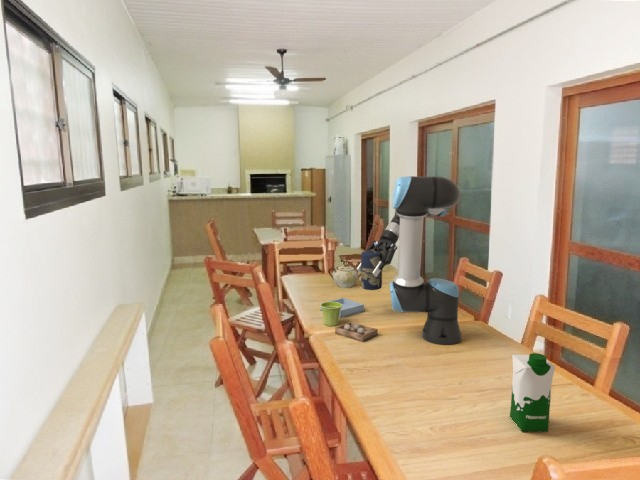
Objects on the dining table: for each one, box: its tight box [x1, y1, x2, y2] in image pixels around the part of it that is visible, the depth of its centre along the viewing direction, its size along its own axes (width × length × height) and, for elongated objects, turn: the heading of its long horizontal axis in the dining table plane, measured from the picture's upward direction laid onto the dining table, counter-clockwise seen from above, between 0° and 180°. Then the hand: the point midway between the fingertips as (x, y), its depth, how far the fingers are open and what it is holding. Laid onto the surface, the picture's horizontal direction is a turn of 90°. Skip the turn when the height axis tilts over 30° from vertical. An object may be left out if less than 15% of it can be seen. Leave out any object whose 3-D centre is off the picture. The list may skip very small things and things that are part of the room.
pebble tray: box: [334, 321, 379, 343], centre depth 187 cm, size 14×10×4 cm
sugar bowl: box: [328, 259, 361, 289], centre depth 261 cm, size 20×15×15 cm
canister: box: [360, 250, 383, 291], centre depth 206 cm, size 10×10×18 cm
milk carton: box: [509, 352, 556, 432], centre depth 120 cm, size 9×9×20 cm
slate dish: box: [320, 297, 365, 319], centre depth 217 cm, size 15×15×4 cm
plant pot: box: [321, 301, 342, 327], centre depth 199 cm, size 9×9×9 cm
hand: (366, 272), depth 205 cm, fingers closed on canister, 9 cm apart
